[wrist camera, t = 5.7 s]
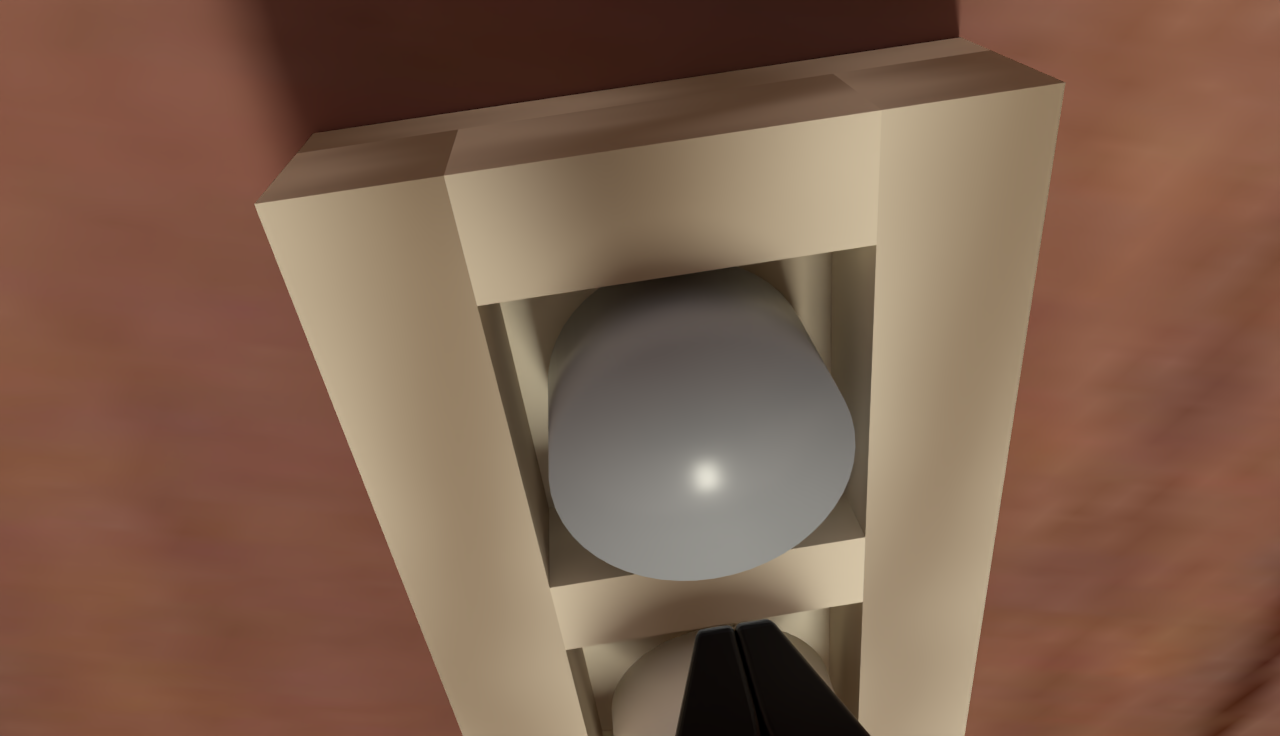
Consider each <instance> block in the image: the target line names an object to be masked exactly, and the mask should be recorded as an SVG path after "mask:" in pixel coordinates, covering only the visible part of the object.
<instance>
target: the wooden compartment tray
mask: <svg viewBox="0 0 1280 736" xmlns="http://www.w3.org/2000/svg"><path fill="white" fill-rule="evenodd" d="M1064 88H1065V82H1063V81H1061V80H1058V79H1056V78H1054V77H1051V76H1049V75H1047V74H1044V73H1042V72H1040V71H1037V70H1035V69H1033V68H1031V67H1028V66H1026V65H1024V64H1021V63H1019V62H1017V61H1014V60H1012V59H1010V58H1007V57H1005V56H1003V55H1000V54H998V53H996V52H993V51H991V50H989V49H987V48H984V47H982V46H980V45H977V44H975V43H973V42H970V41H968V40H966V39H963V38H961V37H959V38H953V39H946V40H939V41H932V42H926V43H919V44H912V45H906V46H899V47H892V48H885V49H879V50H872V51H865V52H858V53H852V54H845V55H838V56H831V57H825V58H818V59H811V60H804V61H798V62H791V63H784V64H778V65H771V66H764V67H757V68H751V69H744V70H737V71H730V72H724V73H717V74H710V75H703V76H697V77H690V78H683V79H676V80H670V81H663V82H656V83H650V84H643V85H636V86H629V87H623V88H616V89H609V90H602V91H596V92H589V93H582V94H575V95H569V96H562V97H555V98H548V99H542V100H535V101H528V102H521V103H515V104H508V105H501V106H495V107H488V108H481V109H474V110H468V111H461V112H454V113H447V114H441V115H434V116H427V117H420V118H414V119H407V120H400V121H393V122H387V123H380V124H373V125H367V126H360V127H353V128H346V129H340V130H333V131H326V132H319V133H313V134H312V136H311V137H310V138H309V139H308V140H307V142H306V143H305V144H304V145H303V146H302V148H301V149H300V150H299V151H298V152H297V154H296V155H295V156H294V157H293V158H292V160H291V161H290V162H289V163H288V164H287V166H286V167H285V168H284V169H283V170H282V172H281V173H280V174H279V175H278V176H277V178H276V179H275V180H274V181H273V182H272V184H271V185H270V186H269V187H268V188H267V190H266V191H265V192H264V193H263V194H262V196H261V197H260V198H259V199H258V200H257V202H256V203H255V204H254V205H255V207H256V210H257V212H258V215H259V217H260V220H261V222H262V225H263V228H264V230H265V233H266V235H267V238H268V240H269V243H270V245H271V248H272V250H273V253H274V256H275V258H276V261H277V263H278V266H279V268H280V271H281V273H282V276H283V278H284V281H285V284H286V286H287V289H288V291H289V294H290V296H291V299H292V301H293V304H294V307H295V309H296V312H297V314H298V317H299V319H300V322H301V324H302V327H303V329H304V332H305V335H306V337H307V340H308V342H309V345H310V347H311V350H312V352H313V355H314V357H315V360H316V363H317V365H318V368H319V370H320V373H321V375H322V378H323V380H324V383H325V385H326V388H327V391H328V393H329V396H330V398H331V401H332V403H333V406H334V408H335V411H336V413H337V416H338V419H339V421H340V424H341V426H342V429H343V431H344V434H345V436H346V439H347V441H348V444H349V447H350V449H351V452H352V454H353V457H354V459H355V462H356V464H357V467H358V469H359V472H360V475H361V477H362V480H363V482H364V485H365V487H366V490H367V492H368V495H369V497H370V500H371V503H372V505H373V508H374V510H375V513H376V515H377V518H378V520H379V523H380V525H381V528H382V531H383V533H384V536H385V538H386V541H387V543H388V546H389V548H390V551H391V554H392V556H393V559H394V561H395V564H396V566H397V569H398V571H399V574H400V576H401V579H402V582H403V584H404V587H405V589H406V592H407V594H408V597H409V599H410V602H411V604H412V607H413V610H414V612H415V615H416V617H417V620H418V622H419V625H420V627H421V630H422V632H423V635H424V638H425V640H426V643H427V645H428V648H429V650H430V653H431V655H432V658H433V660H434V663H435V666H436V668H437V671H438V673H439V676H440V678H441V681H442V683H443V686H444V688H445V691H446V694H447V696H448V699H449V701H450V704H451V706H452V709H453V711H454V714H455V716H456V719H457V722H458V724H459V727H460V729H461V732H462V734H463V736H614V735H613V723H612V710H611V708H612V699H613V695H614V692H615V689H616V687H617V685H618V683H619V681H620V680H621V678H622V677H623V675H624V674H625V673H626V671H627V670H628V669H629V668H630V667H631V666H632V665H633V664H634V663H635V662H636V661H637V660H638V659H640V658H641V657H642V656H643V655H645V654H646V653H647V652H649V651H651V650H652V649H654V648H655V647H657V646H659V645H661V644H663V643H664V642H666V641H668V640H671V639H673V638H676V637H678V636H681V635H683V634H686V633H690V632H693V631H696V630H700V629H705V628H710V627H716V626H725V625H738V624H739V623H743V622H750V621H756V620H762V619H769V620H771V621H772V622H774V623H775V624H776V625H777V626H778V627H779V629H780V630H781V631H784V632H786V633H789V634H791V635H793V636H796V637H797V638H799V639H801V640H803V641H804V642H806V643H807V644H808V645H809V646H811V647H812V648H813V649H814V650H815V651H816V652H817V653H818V655H819V656H820V657H821V659H822V661H823V662H824V664H825V667H826V670H827V672H828V675H829V678H830V681H831V684H832V687H833V690H834V693H835V694H836V695H837V697H838V698H839V699H840V700H841V701H842V702H843V704H844V705H845V706H846V707H847V708H848V710H849V711H850V712H851V713H852V714H853V715H854V717H855V718H856V719H857V720H858V721H859V722H860V724H861V725H862V726H863V727H864V728H865V729H866V731H867V732H868V733H869V734H870V735H871V736H964V735H965V729H966V722H967V716H968V709H969V703H970V696H971V690H972V684H973V677H974V671H975V664H976V658H977V651H978V645H979V638H980V632H981V625H982V619H983V612H984V606H985V599H986V593H987V586H988V580H989V573H990V567H991V561H992V554H993V548H994V541H995V535H996V528H997V522H998V515H999V509H1000V502H1001V496H1002V489H1003V483H1004V476H1005V470H1006V463H1007V457H1008V450H1009V444H1010V438H1011V431H1012V425H1013V418H1014V412H1015V405H1016V399H1017V392H1018V386H1019V379H1020V373H1021V366H1022V360H1023V353H1024V347H1025V340H1026V334H1027V327H1028V321H1029V314H1030V308H1031V302H1032V295H1033V289H1034V282H1035V276H1036V269H1037V263H1038V256H1039V250H1040V243H1041V237H1042V230H1043V224H1044V217H1045V211H1046V204H1047V198H1048V191H1049V185H1050V179H1051V172H1052V166H1053V159H1054V153H1055V146H1056V140H1057V133H1058V127H1059V120H1060V114H1061V107H1062V101H1063V94H1064ZM736 266H737V267H740V268H742V269H744V270H747V271H749V272H751V273H753V274H755V275H757V276H758V277H760V278H762V279H763V280H765V281H767V282H768V283H769V284H771V285H772V286H773V287H774V288H775V289H777V290H778V291H779V292H780V293H781V294H782V295H783V296H784V297H785V299H786V300H787V301H788V302H789V303H790V304H791V306H792V307H793V309H794V310H795V312H796V314H797V315H798V317H799V318H800V320H801V322H802V324H803V326H804V327H805V329H806V331H807V333H808V335H809V336H810V338H811V340H812V342H813V344H814V345H815V347H816V349H817V351H818V353H819V354H820V356H821V358H822V360H823V362H824V364H825V365H826V367H827V369H828V371H829V373H830V374H831V376H832V378H833V380H834V382H835V383H836V385H837V387H838V389H839V391H840V392H841V394H842V396H843V398H844V400H845V402H846V404H847V407H848V409H849V411H850V414H851V417H852V421H853V426H854V430H855V446H856V447H855V456H854V463H853V467H852V471H851V475H850V478H849V480H848V483H847V485H846V487H845V490H844V492H843V494H842V496H841V497H840V499H839V501H838V502H837V504H836V506H835V507H834V509H833V510H832V511H831V512H830V514H829V515H828V516H827V518H826V519H825V520H824V521H823V522H822V523H821V524H820V525H819V526H818V527H817V528H816V529H815V530H814V531H813V532H812V533H811V534H810V535H809V536H808V537H806V538H805V539H804V540H803V541H801V542H800V543H799V544H798V545H796V546H795V547H793V548H792V549H790V550H788V551H787V552H785V553H784V554H782V555H780V556H778V557H776V558H775V559H773V560H771V561H769V562H767V563H764V564H762V565H760V566H757V567H755V568H752V569H750V570H746V571H743V572H740V573H737V574H733V575H729V576H724V577H719V578H714V579H706V580H697V581H673V580H661V579H655V578H649V577H644V576H640V575H637V574H633V573H630V572H626V571H624V570H622V569H619V568H617V567H614V566H612V565H610V564H608V563H606V562H605V561H603V560H601V559H599V558H598V557H596V556H595V555H593V554H592V553H591V552H589V551H588V550H587V549H585V548H584V547H583V546H582V545H581V544H580V543H579V542H578V541H577V540H576V539H575V538H574V537H573V536H572V535H571V533H570V532H569V531H568V529H567V528H566V527H565V525H564V524H563V522H562V520H561V519H560V517H559V515H558V513H557V511H556V509H555V506H554V502H553V499H552V496H551V492H550V485H549V459H548V370H549V364H550V358H551V354H552V351H553V348H554V345H555V342H556V340H557V338H558V336H559V334H560V332H561V330H562V328H563V326H564V325H565V323H566V322H567V321H568V319H569V318H570V316H571V315H572V314H573V312H574V311H575V310H576V309H577V308H578V307H579V306H580V305H581V304H582V303H583V301H584V300H585V299H587V298H588V297H589V296H590V295H591V294H593V293H594V292H595V291H596V290H597V289H599V288H600V287H605V286H612V285H618V284H625V283H631V282H638V281H644V280H651V279H657V278H664V277H670V276H677V275H683V274H690V273H696V272H703V271H709V270H716V269H723V268H729V267H736Z"/></svg>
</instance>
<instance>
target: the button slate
mask: <svg viewBox="0 0 1280 736" xmlns="http://www.w3.org/2000/svg"><path fill="white" fill-rule="evenodd" d="M855 447H856V446H855V430H854V426H853V421H852V417H851V414H850V411H849V409H848V407H847V404H846V402H845V400H844V398H843V396H842V394H841V392H840V391H839V389H838V387H837V385H836V383H835V382H834V380H833V378H832V376H831V374H830V373H829V371H828V369H827V367H826V365H825V364H824V362H823V360H822V358H821V356H820V354H819V353H818V351H817V349H816V347H815V345H814V344H813V342H812V340H811V338H810V336H809V335H808V333H807V331H806V329H805V327H804V326H803V324H802V322H801V320H800V318H799V317H798V315H797V314H796V312H795V310H794V309H793V307H792V306H791V304H790V303H789V302H788V301H787V300H786V299H785V297H784V296H783V295H782V294H781V293H780V292H779V291H778V290H777V289H775V288H774V287H773V286H772V285H771V284H769V283H768V282H767V281H765V280H763V279H762V278H760V277H758V276H757V275H755V274H753V273H751V272H749V271H747V270H744V269H742V268H740V267H737V266H736V267H729V268H723V269H716V270H709V271H703V272H696V273H690V274H683V275H677V276H670V277H664V278H657V279H651V280H644V281H638V282H631V283H625V284H618V285H612V286H605V287H600V288H599V289H597V290H596V291H595V292H594V293H593V294H591V295H590V296H589V297H588V298H587V299H585V300H584V301H583V303H582V304H581V305H580V306H579V307H578V308H577V309H576V310H575V311H574V312H573V314H572V315H571V316H570V318H569V319H568V321H567V322H566V323H565V325H564V326H563V328H562V330H561V332H560V334H559V336H558V338H557V340H556V342H555V345H554V348H553V351H552V354H551V358H550V364H549V370H548V459H549V485H550V492H551V496H552V499H553V502H554V506H555V509H556V511H557V513H558V515H559V517H560V519H561V520H562V522H563V524H564V525H565V527H566V528H567V529H568V531H569V532H570V533H571V535H572V536H573V537H574V538H575V539H576V540H577V541H578V542H579V543H580V544H581V545H582V546H583V547H584V548H585V549H587V550H588V551H589V552H591V553H592V554H593V555H595V556H596V557H598V558H599V559H601V560H603V561H605V562H606V563H608V564H610V565H612V566H614V567H617V568H619V569H622V570H624V571H626V572H630V573H633V574H637V575H640V576H644V577H649V578H655V579H661V580H673V581H697V580H706V579H714V578H719V577H724V576H729V575H733V574H737V573H740V572H743V571H746V570H750V569H752V568H755V567H757V566H760V565H762V564H764V563H767V562H769V561H771V560H773V559H775V558H776V557H778V556H780V555H782V554H784V553H785V552H787V551H788V550H790V549H792V548H793V547H795V546H796V545H798V544H799V543H800V542H801V541H803V540H804V539H805V538H806V537H808V536H809V535H810V534H811V533H812V532H813V531H814V530H815V529H816V528H817V527H818V526H819V525H820V524H821V523H822V522H823V521H824V520H825V519H826V518H827V516H828V515H829V514H830V512H831V511H832V510H833V509H834V507H835V506H836V504H837V502H838V501H839V499H840V497H841V496H842V494H843V492H844V490H845V487H846V485H847V483H848V480H849V478H850V475H851V471H852V467H853V463H854V456H855Z"/></svg>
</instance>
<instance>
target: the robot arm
mask: <svg viewBox="0 0 1280 736" xmlns="http://www.w3.org/2000/svg"><path fill="white" fill-rule="evenodd" d="M675 736H871V735H870V734H869V733H868V732H867V731H866V729H865V728H864V727H863V726H862V725H861V724H860V722H859V721H858V720H857V719H856V718H855V717H854V715H853V714H852V713H851V712H850V711H849V710H848V708H847V707H846V706H845V705H844V704H843V702H842V701H841V700H840V699H839V698H838V697H837V695H836V694H835V693H834V692H833V691H832V690H831V688H830V687H829V686H828V685H827V684H826V683H825V681H824V680H823V679H822V678H821V677H820V675H819V674H818V673H817V672H816V671H815V670H814V668H813V667H812V666H811V665H810V664H809V663H808V661H807V660H806V659H805V658H804V657H803V656H802V654H801V653H800V652H799V651H798V650H797V649H796V647H795V646H794V645H793V644H792V643H791V641H790V640H789V639H788V638H787V637H786V636H785V634H784V633H783V632H782V631H781V630H780V629H779V627H778V626H777V625H776V624H775V623H774V622H772V621H771V620H769V619H762V620H756V621H750V622H743V623H739V624H738V625H737V626H736V627H735V630H734V629H733V628H732V627H731V626H728V625H725V626H719V627H713V628H707V629H702V630H700V631H698V633H697V634H696V637H695V641H694V646H693V651H692V656H691V661H690V665H689V670H688V675H687V680H686V685H685V690H684V695H683V699H682V704H681V709H680V714H679V719H678V724H677V729H676V733H675Z"/></svg>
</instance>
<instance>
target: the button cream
mask: <svg viewBox="0 0 1280 736" xmlns="http://www.w3.org/2000/svg"><path fill="white" fill-rule="evenodd" d="M728 626H731V627H732V628H733V629H734V630H735V627H736V626H737V625H728ZM716 627H719V626H716ZM710 628H713V627H710ZM705 629H707V628H705ZM700 630H702V629H700ZM700 630H696V631H693V632H690V633H686V634H683V635H681V636H678V637H676V638H673V639H671V640H668V641H666V642H664V643H663V644H661V645H659V646H657V647H655V648H654V649H652V650H651V651H649V652H647V653H646V654H645V655H643V656H642V657H641V658H640V659H638V660H637V661H636V662H635V663H634V664H633V665H632V666H631V667H630V668H629V669H628V670H627V671H626V673H625V674H624V675H623V677H622V678H621V680H620V681H619V683H618V685H617V687H616V689H615V692H614V695H613V699H612V708H611V710H612V723H613V735H614V736H675V733H676V729H677V724H678V719H679V714H680V709H681V704H682V699H683V695H684V690H685V685H686V680H687V675H688V670H689V665H690V661H691V656H692V651H693V646H694V641H695V637H696V634H697V633H698V631H700ZM782 632H783V633H784V634H785V636H786V637H787V638H788V639H789V640H790V641H791V643H792V644H793V645H794V646H795V647H796V649H797V650H798V651H799V652H800V653H801V654H802V656H803V657H804V658H805V659H806V660H807V661H808V663H809V664H810V665H811V666H812V667H813V668H814V670H815V671H816V672H817V673H818V674H819V675H820V677H821V678H822V679H823V680H824V681H825V683H826V684H827V685H828V686H829V687H830V688H831V690H832V691H833V692H834V690H833V687H832V684H831V681H830V678H829V675H828V672H827V670H826V667H825V664H824V662H823V661H822V659H821V657H820V656H819V655H818V653H817V652H816V651H815V650H814V649H813V648H812V647H811V646H809V645H808V644H807V643H806V642H804V641H803V640H801V639H799V638H797V637H796V636H793V635H791V634H789V633H786V632H784V631H782Z"/></svg>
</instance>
